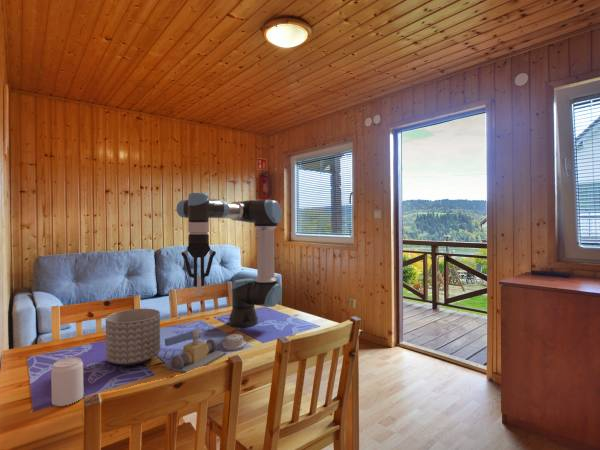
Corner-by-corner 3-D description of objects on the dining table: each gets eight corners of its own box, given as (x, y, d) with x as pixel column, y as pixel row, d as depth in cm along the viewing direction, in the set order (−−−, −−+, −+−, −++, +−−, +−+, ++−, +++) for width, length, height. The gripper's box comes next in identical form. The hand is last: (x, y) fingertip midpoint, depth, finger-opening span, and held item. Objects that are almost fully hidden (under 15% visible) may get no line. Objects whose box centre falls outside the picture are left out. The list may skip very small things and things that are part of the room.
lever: (196, 335, 139) (196, 329, 139) (201, 337, 137) (200, 331, 137) (163, 344, 129) (163, 338, 129) (168, 346, 127) (168, 340, 126)
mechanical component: (218, 349, 148) (240, 351, 146) (218, 339, 148) (240, 341, 146) (228, 341, 158) (249, 343, 156) (228, 331, 158) (249, 333, 156)
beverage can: (61, 394, 111) (61, 357, 110) (88, 393, 111) (88, 356, 111) (45, 408, 103) (44, 368, 102) (74, 407, 103) (73, 367, 103)
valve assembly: (199, 348, 149) (199, 327, 149) (225, 354, 143) (225, 332, 143) (162, 366, 131) (161, 343, 131) (190, 374, 125) (190, 349, 125)
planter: (105, 376, 123) (104, 325, 123) (107, 356, 140) (106, 312, 140) (162, 365, 132) (162, 318, 132) (157, 348, 149) (157, 306, 148)
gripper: (215, 232, 139) (215, 291, 140) (180, 233, 135) (181, 293, 135) (217, 233, 132) (217, 295, 132) (180, 234, 128) (181, 298, 128)
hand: (199, 294), depth 134 cm, fingers closed
